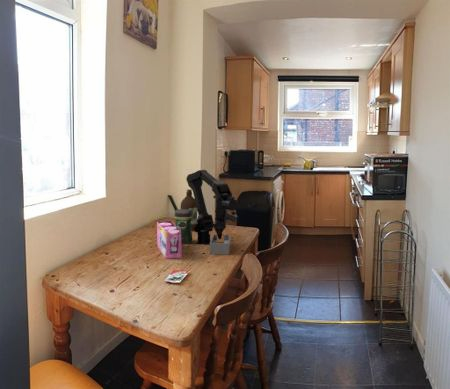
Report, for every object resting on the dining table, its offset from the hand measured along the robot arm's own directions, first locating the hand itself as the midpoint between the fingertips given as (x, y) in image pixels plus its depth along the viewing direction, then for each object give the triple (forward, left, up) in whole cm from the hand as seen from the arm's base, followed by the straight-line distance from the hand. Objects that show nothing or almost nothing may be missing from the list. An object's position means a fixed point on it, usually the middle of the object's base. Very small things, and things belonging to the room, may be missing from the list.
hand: (220, 237), depth 221 cm
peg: (0, 0, -7) cm, 7 cm away
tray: (0, 0, -6) cm, 7 cm away
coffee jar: (-21, +11, -7) cm, 25 cm away
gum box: (-26, -7, -7) cm, 28 cm away
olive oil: (-22, +40, -7) cm, 46 cm away
